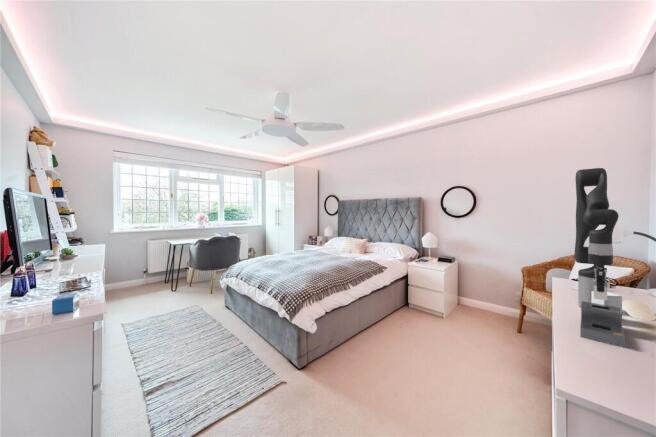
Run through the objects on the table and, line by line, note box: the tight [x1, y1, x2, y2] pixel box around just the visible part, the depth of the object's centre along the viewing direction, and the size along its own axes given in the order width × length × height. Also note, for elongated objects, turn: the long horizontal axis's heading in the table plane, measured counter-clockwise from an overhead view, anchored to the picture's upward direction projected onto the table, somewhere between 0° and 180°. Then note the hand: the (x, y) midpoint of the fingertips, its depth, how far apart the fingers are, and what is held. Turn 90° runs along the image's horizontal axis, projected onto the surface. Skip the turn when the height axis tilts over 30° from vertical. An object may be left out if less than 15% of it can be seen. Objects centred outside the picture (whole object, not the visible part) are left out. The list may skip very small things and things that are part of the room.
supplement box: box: [591, 291, 623, 314], centre depth 119 cm, size 7×7×13 cm
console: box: [579, 301, 626, 348], centre depth 107 cm, size 24×12×9 cm, turn 133°
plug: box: [594, 280, 611, 300], centre depth 111 cm, size 3×5×8 cm, turn 43°
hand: (600, 290), depth 111 cm, fingers closed on plug, 3 cm apart
